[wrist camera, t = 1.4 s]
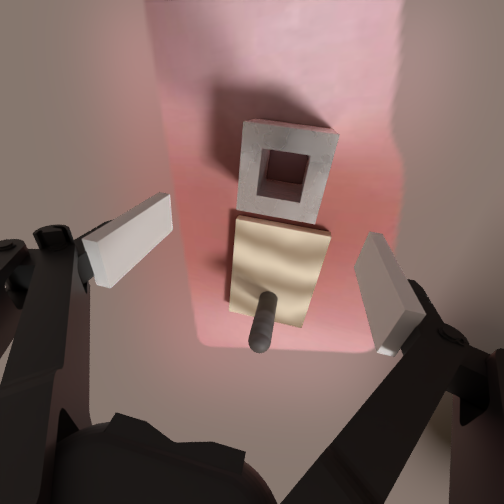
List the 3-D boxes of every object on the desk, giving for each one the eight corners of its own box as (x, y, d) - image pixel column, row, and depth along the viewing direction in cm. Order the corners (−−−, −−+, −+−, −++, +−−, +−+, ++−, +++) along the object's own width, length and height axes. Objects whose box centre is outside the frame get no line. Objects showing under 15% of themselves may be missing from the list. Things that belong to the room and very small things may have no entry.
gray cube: (257, 118, 27) (243, 121, 22) (332, 128, 26) (339, 134, 21) (249, 191, 32) (236, 209, 26) (313, 202, 31) (314, 224, 25)
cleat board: (238, 214, 34) (211, 256, 24) (330, 232, 33) (339, 283, 23) (231, 305, 44) (209, 360, 34) (301, 321, 42) (299, 384, 33)
